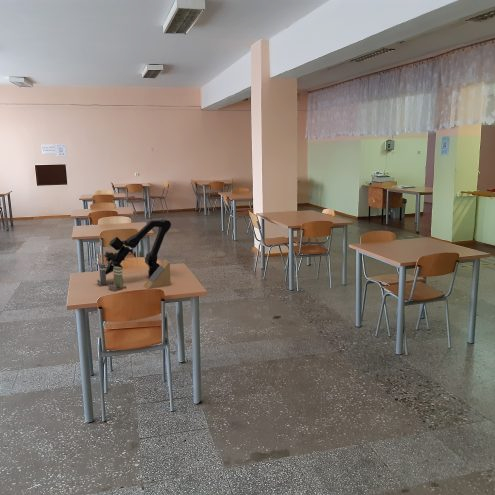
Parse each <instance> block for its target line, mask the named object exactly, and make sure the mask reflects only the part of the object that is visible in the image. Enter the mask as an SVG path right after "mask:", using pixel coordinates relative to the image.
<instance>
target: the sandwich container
mask: <svg viewBox="0 0 495 495" xmlns="http://www.w3.org/2000/svg"><path fill="white" fill-rule="evenodd" d="M159 265H160V266H159V267H158V268H157V270H156V271H155V272H154V273H153V274H152V276H151V277H149V278H148V279H147V280H146V282H145V283H144V284H143V285H142V286H143V288H145V289H147V290H150V289H157V288H161V287H168V286H171V284H172V283H171V282H172V281H171V280H172V279H171V263H170V261H168V260H166V259H163V260H162V262H161V263H160V264H159ZM167 285H168V286H167Z"/></svg>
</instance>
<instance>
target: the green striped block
mask: <svg viewBox="0 0 495 495" xmlns="http://www.w3.org/2000/svg"><path fill="white" fill-rule="evenodd" d="M122 267H123V266H122ZM122 267H113V272H112V274H113V286H116V287H120V288H121V287H123V286H124V278H123V269H122Z"/></svg>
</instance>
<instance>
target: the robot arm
mask: <svg viewBox="0 0 495 495" xmlns="http://www.w3.org/2000/svg"><path fill="white" fill-rule="evenodd" d="M171 226H172V223H171V222H170V220H167V219H165V218H164V219H157V220H152V219H151V220H149V221H148V223H146V224H145V226H143V227H142V228H141V229H140V230H138V232H137V233H135V234H133V235H131V236H130V237H128V238H126V239H125V240H121V239H120V238H119V237H118V236H116V237H114V238H112V239H111V240H110V242H109V244H108V245H109V246H110V247H112V248H113V249H114V250H115V251H118V252H115V253H114V252H109V251H105V253H104V258H105V260H106V261H107V266H106V276H107V275H108V274H110V273H114V272H113V267H122V270H123V268H124V267H123V265H121V263H122V262H123V261H125V259H126V257H128V255H129V254H134V249H135V248H136V247H138V245H139V244H140V242H141V240H142V239H143V238H144V237H145V236H146V235H147V234H148V233H149V232H151V231H152V230H153V229H154V228H155V227H156V228H158V232H157V235H156V238H155V240H154V243H153V245H152V248H151V250H150V252H149V253H146V255H145V258H144V263H145V264H146V265H147V266H148V270H147V273H148V277H149V278H150V277H151V276H152V274H153V273H154V272H155V271H156V270H157V268H158V267H159V266H160V265H161V264H160V263H158V253H159V251H160V248H161V247H162V243H163V240H164V238H165V235H166V234H167V233H168V232H169V230H170V229H171Z"/></svg>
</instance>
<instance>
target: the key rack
mask: <svg viewBox="0 0 495 495" xmlns="http://www.w3.org/2000/svg"><path fill="white" fill-rule="evenodd" d="M96 280H97V285H98V287H106V286H108V290H109V291H112V292H119V291H121V290H124V289H127V286H126V285H123V287H121V288H120V287H116V286H114V281H112V280H108V281H107V280H106V283H107V284H102V283H101V281H100V279H96Z"/></svg>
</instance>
